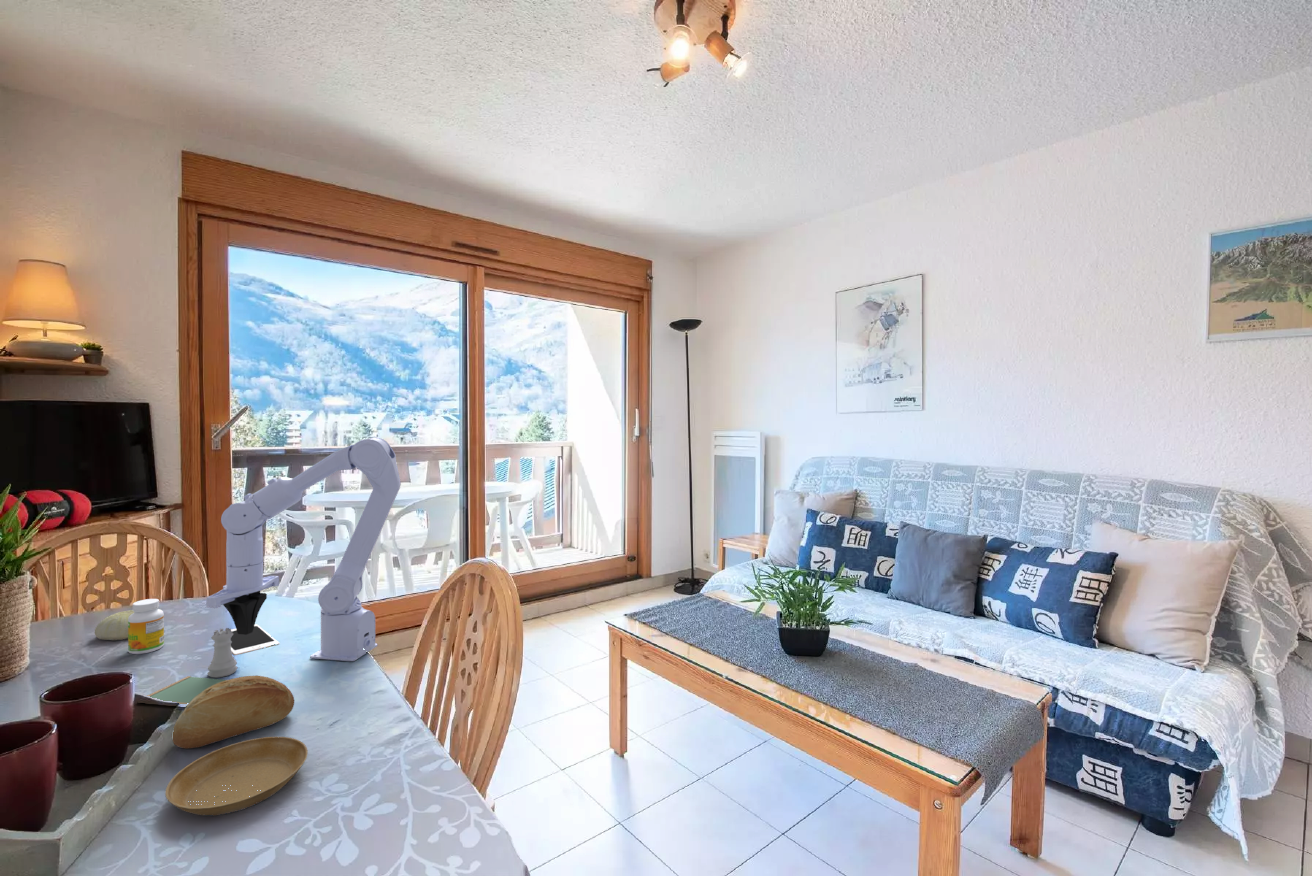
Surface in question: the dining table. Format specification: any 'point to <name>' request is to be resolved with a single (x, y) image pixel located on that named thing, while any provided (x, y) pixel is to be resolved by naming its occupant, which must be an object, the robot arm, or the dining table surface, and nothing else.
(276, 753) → the plant saucer
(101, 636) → the sea urchin shell
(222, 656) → the rook chess piece
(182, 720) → the bread roll
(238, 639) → the cell phone
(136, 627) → the supplement bottle
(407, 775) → the dining table surface
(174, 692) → the green chalkboard
